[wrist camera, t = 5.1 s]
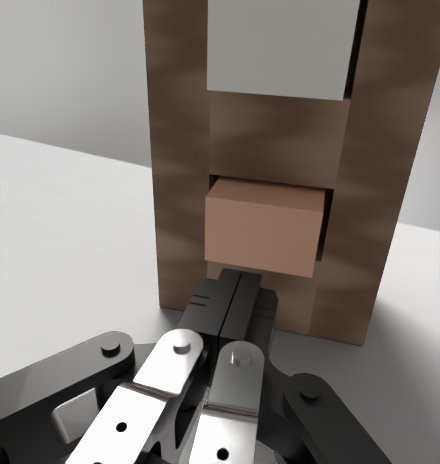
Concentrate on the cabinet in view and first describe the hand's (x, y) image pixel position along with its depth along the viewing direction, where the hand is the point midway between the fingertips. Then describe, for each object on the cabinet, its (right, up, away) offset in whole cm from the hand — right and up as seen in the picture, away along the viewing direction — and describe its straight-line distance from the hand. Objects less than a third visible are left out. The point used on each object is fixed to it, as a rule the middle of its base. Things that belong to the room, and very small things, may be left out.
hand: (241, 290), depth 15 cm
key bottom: (+1, +1, +6) cm, 6 cm away
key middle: (+2, +8, +2) cm, 8 cm away
